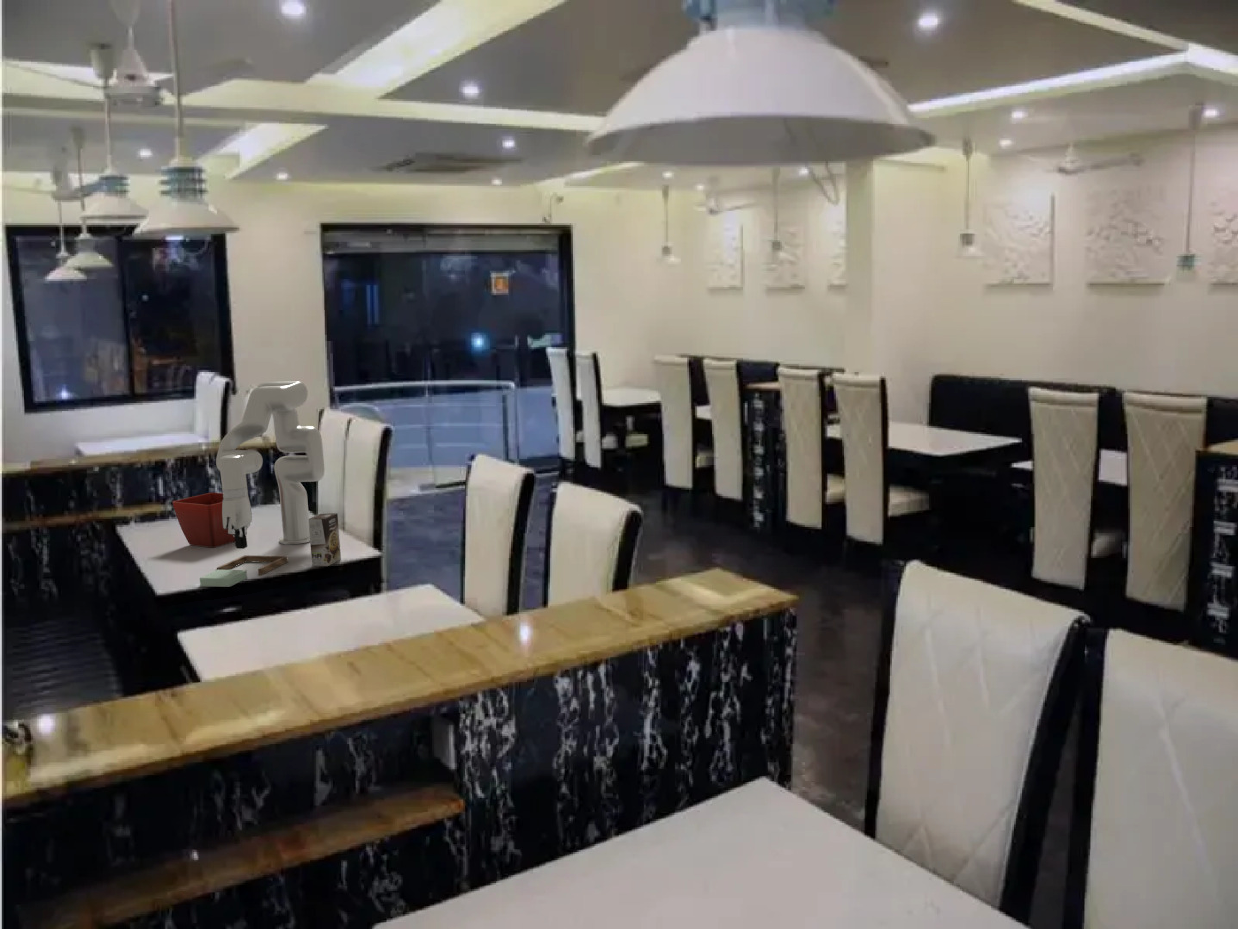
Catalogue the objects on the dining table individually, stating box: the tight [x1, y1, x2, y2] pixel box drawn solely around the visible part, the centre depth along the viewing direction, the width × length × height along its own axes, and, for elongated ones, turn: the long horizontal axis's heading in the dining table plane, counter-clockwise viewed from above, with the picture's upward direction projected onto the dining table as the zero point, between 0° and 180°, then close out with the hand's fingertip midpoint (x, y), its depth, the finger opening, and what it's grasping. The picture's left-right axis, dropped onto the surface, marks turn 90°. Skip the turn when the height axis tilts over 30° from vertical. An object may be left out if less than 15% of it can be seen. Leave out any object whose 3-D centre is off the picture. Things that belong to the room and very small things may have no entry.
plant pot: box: [172, 492, 235, 548], centre depth 369 cm, size 19×19×17 cm
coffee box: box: [309, 512, 342, 567], centre depth 336 cm, size 9×6×16 cm
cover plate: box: [199, 569, 248, 588], centre depth 317 cm, size 10×10×3 cm
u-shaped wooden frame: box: [216, 554, 288, 576], centre depth 333 cm, size 16×16×2 cm
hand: (241, 547), depth 327 cm, fingers closed
